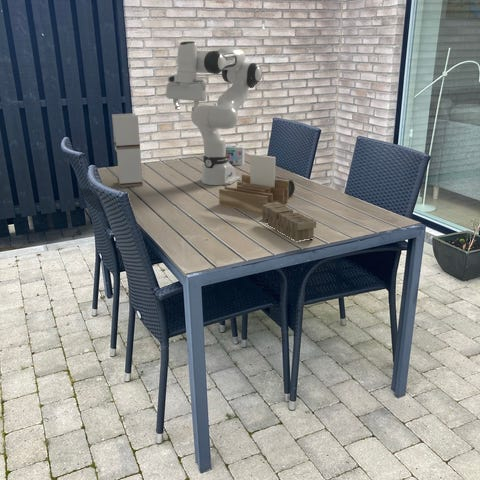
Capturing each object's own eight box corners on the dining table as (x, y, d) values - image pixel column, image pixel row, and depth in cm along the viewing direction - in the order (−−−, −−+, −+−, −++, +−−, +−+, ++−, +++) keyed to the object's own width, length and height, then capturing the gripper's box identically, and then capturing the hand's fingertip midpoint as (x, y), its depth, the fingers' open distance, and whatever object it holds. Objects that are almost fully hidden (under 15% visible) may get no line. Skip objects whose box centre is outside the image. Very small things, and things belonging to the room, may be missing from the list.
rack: (243, 197, 245) (243, 173, 241) (288, 205, 233) (288, 180, 229) (218, 208, 229) (218, 182, 225) (265, 217, 217) (266, 190, 213)
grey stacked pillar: (139, 180, 276) (134, 113, 263) (142, 185, 266) (137, 116, 254) (117, 182, 272) (111, 114, 260) (120, 187, 263) (114, 117, 251)
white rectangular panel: (251, 197, 240) (252, 154, 233) (274, 201, 234) (275, 157, 227) (250, 198, 239) (250, 154, 232) (272, 202, 233) (273, 157, 226)
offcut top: (244, 188, 235) (244, 183, 235) (270, 193, 228) (270, 187, 227) (236, 191, 231) (236, 186, 230) (263, 196, 223) (263, 190, 222)
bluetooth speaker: (246, 193, 253) (246, 173, 249) (258, 189, 259) (258, 169, 255) (282, 202, 238) (283, 180, 235) (295, 198, 244) (295, 177, 241)
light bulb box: (225, 164, 312) (225, 146, 309) (227, 162, 319) (227, 144, 315) (242, 165, 311) (242, 147, 307) (244, 163, 317) (244, 145, 313)
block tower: (260, 223, 213) (297, 244, 188) (260, 203, 210) (297, 222, 185) (277, 221, 216) (315, 241, 191) (277, 201, 213) (316, 219, 188)
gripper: (209, 80, 234) (208, 111, 238) (172, 78, 243) (172, 108, 247) (201, 79, 229) (200, 111, 232) (164, 77, 238) (163, 108, 242)
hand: (185, 110), depth 240 cm, fingers open, 8 cm apart
